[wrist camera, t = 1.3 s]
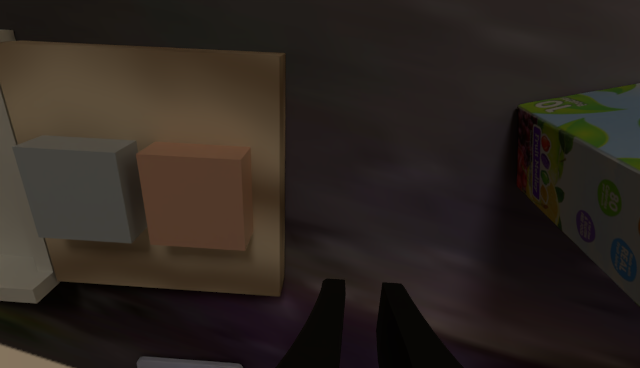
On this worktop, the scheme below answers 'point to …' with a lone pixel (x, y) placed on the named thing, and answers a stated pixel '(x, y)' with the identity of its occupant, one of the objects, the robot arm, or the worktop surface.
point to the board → (160, 126)
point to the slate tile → (83, 188)
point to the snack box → (588, 174)
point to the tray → (19, 224)
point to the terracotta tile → (197, 195)
